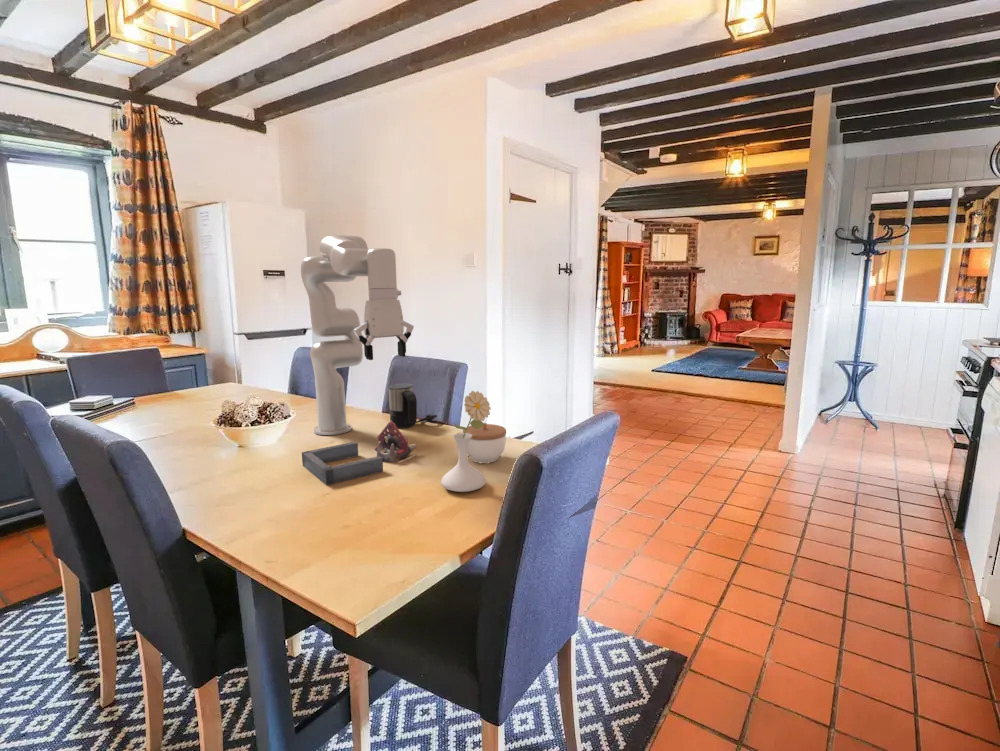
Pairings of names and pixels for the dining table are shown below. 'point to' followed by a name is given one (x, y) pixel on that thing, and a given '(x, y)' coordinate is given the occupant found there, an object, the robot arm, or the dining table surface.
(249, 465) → the dining table surface
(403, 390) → the milk frother
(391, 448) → the brake caliper
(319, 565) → the dining table surface
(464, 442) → the flower in vase
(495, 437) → the lidded bowl
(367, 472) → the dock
